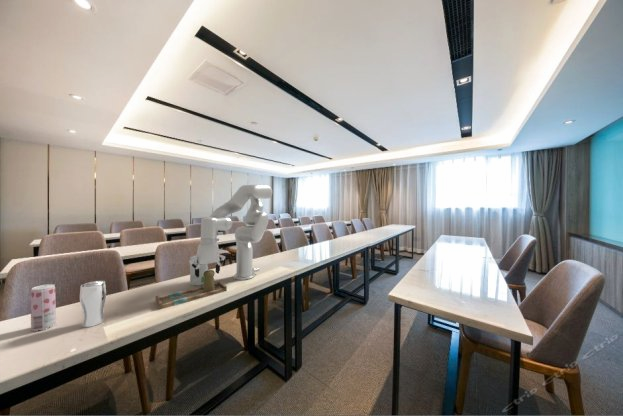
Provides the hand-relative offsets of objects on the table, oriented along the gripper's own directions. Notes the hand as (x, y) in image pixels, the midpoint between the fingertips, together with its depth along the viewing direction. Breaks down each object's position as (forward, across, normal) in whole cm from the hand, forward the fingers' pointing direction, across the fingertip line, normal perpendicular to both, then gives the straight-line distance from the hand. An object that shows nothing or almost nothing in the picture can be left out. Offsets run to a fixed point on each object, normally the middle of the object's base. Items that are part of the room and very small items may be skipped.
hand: (207, 274), depth 110 cm
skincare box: (+9, -1, -17) cm, 20 cm away
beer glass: (+11, +41, +1) cm, 42 cm away
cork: (+9, -1, 0) cm, 9 cm away
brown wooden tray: (+9, +6, 0) cm, 11 cm away
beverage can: (+11, +54, -7) cm, 56 cm away
